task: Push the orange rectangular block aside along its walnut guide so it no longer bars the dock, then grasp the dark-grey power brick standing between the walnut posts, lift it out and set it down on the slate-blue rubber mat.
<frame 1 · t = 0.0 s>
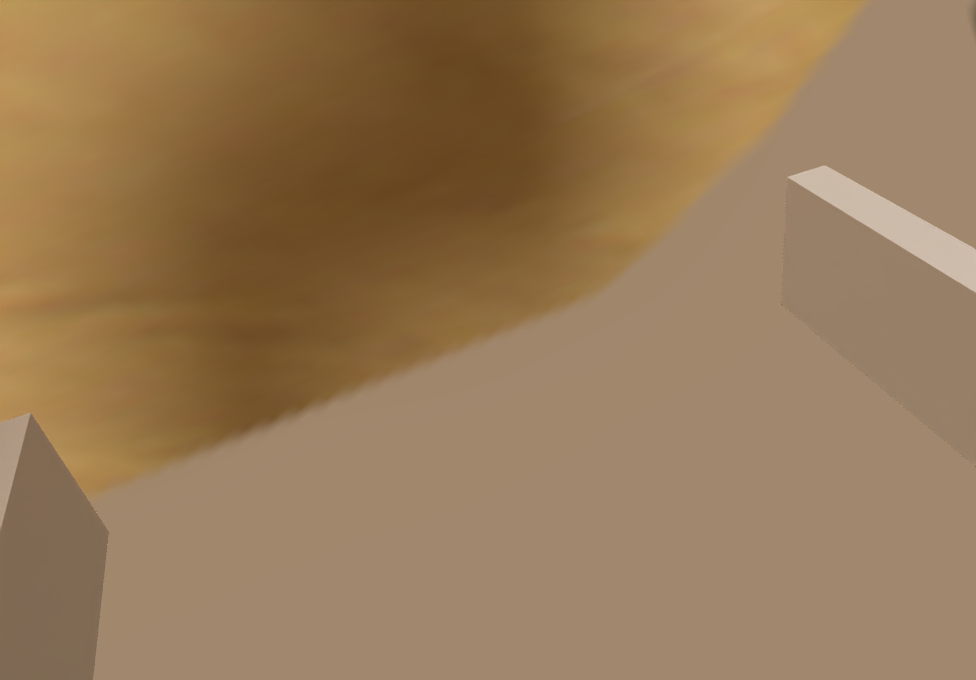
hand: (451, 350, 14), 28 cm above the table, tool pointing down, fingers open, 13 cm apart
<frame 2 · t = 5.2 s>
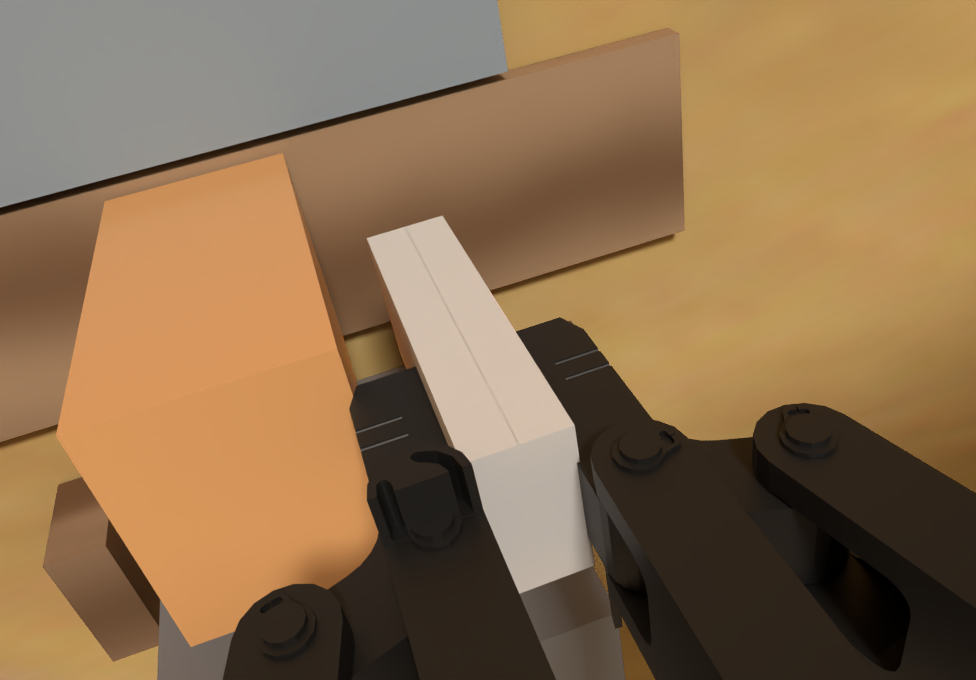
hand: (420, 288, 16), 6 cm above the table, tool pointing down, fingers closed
power brick: (344, 448, 25), on the table
orange rectangular block: (242, 366, 16), point 5 cm above the table, slide at 1.0 cm, touching gripper
cradle: (345, 449, 25), on the table
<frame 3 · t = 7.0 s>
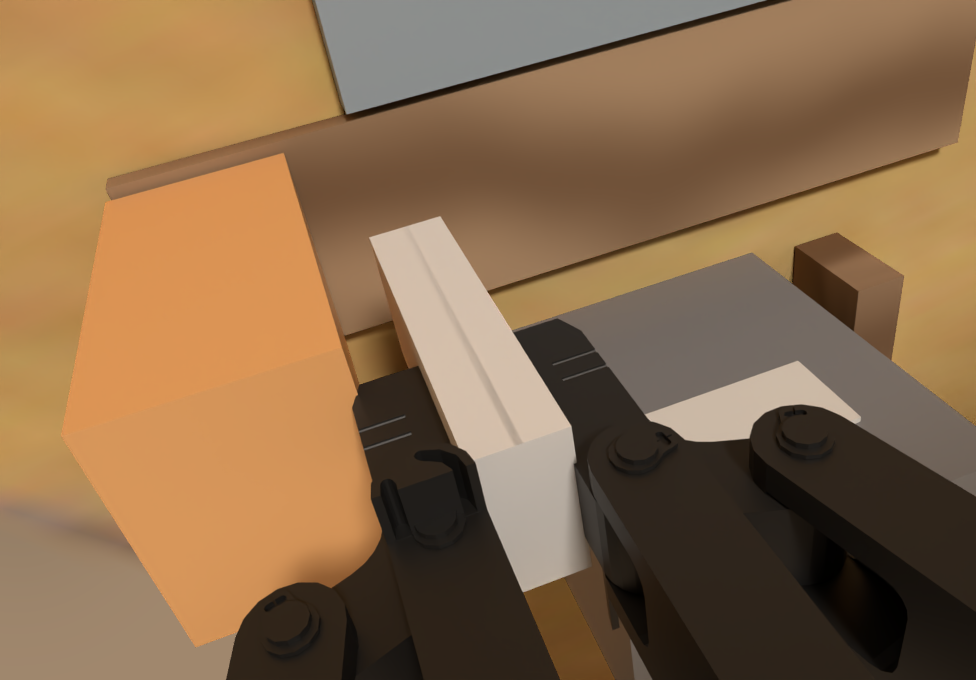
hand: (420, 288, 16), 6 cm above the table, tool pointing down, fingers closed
power brick: (623, 354, 26), on the table
orange rectangular block: (245, 366, 16), point 5 cm above the table, slide at 10.1 cm, touching gripper
cradle: (624, 355, 26), on the table
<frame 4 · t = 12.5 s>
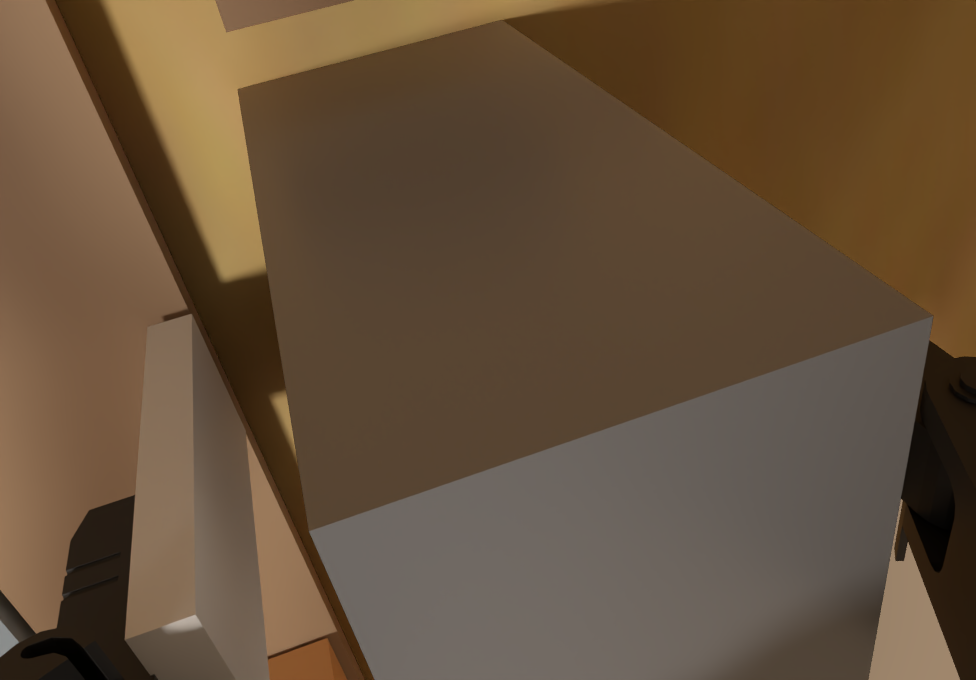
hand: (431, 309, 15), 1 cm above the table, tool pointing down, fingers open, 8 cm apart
power brick: (430, 283, 16), on the table
cradle: (430, 285, 16), on the table
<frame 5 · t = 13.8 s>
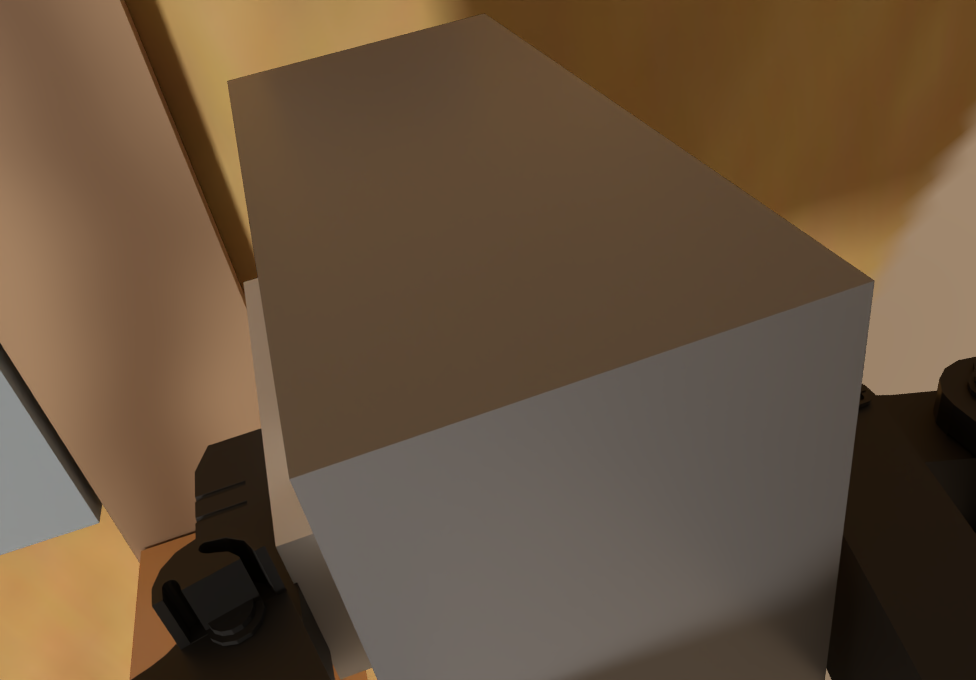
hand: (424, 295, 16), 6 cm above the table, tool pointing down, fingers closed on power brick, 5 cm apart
power brick: (417, 272, 16), point 5 cm above the table, touching gripper
cradle: (389, 194, 21), on the table
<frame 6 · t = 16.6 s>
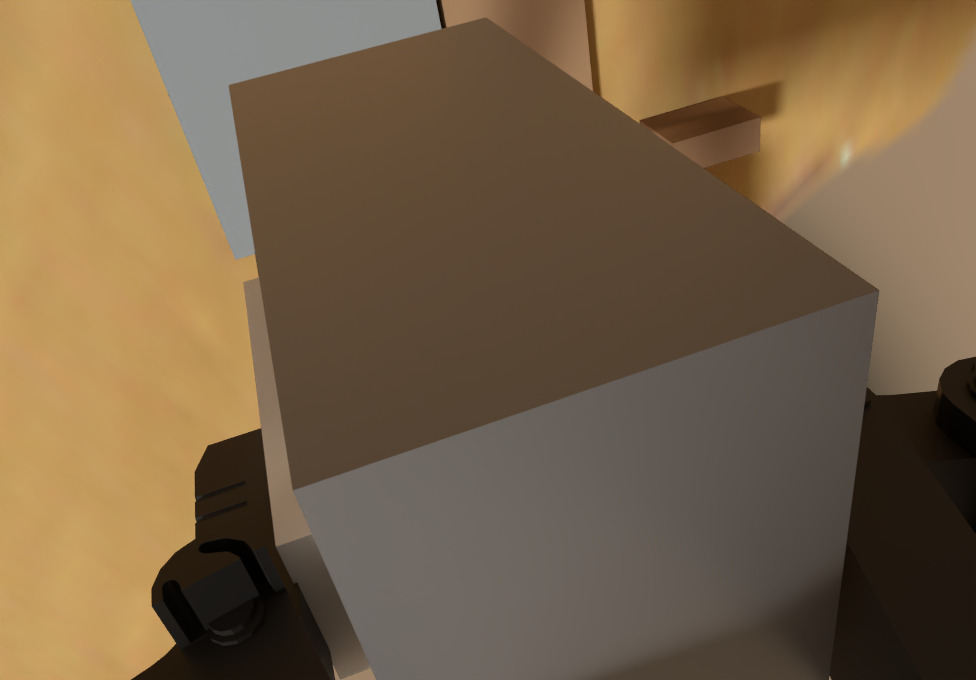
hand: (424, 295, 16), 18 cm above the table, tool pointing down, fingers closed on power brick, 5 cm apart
power brick: (418, 275, 16), point 17 cm above the table, touching gripper
mat: (307, 59, 30), on the table
when the fingers open (2 cm above the table, at t = 19.5 s): power brick stays where it is, resting on mat.
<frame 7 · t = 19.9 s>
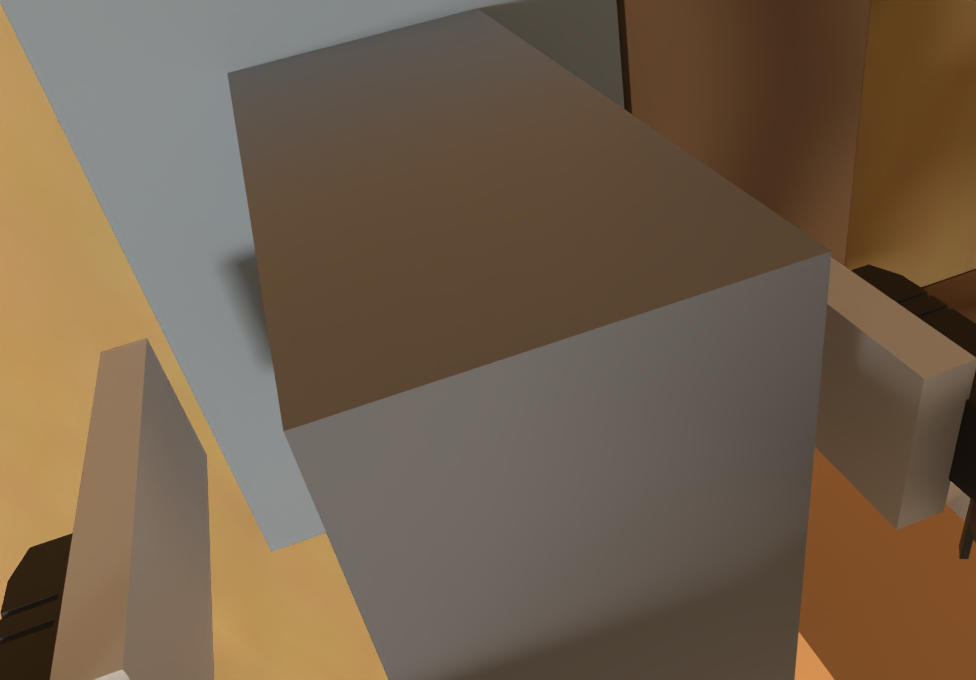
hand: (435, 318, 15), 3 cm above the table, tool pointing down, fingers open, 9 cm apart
power brick: (412, 261, 17), point 1 cm above the table, touching mat
orange rectangular block: (838, 583, 21), point 5 cm above the table, slide at 10.0 cm
mat: (400, 246, 18), on the table
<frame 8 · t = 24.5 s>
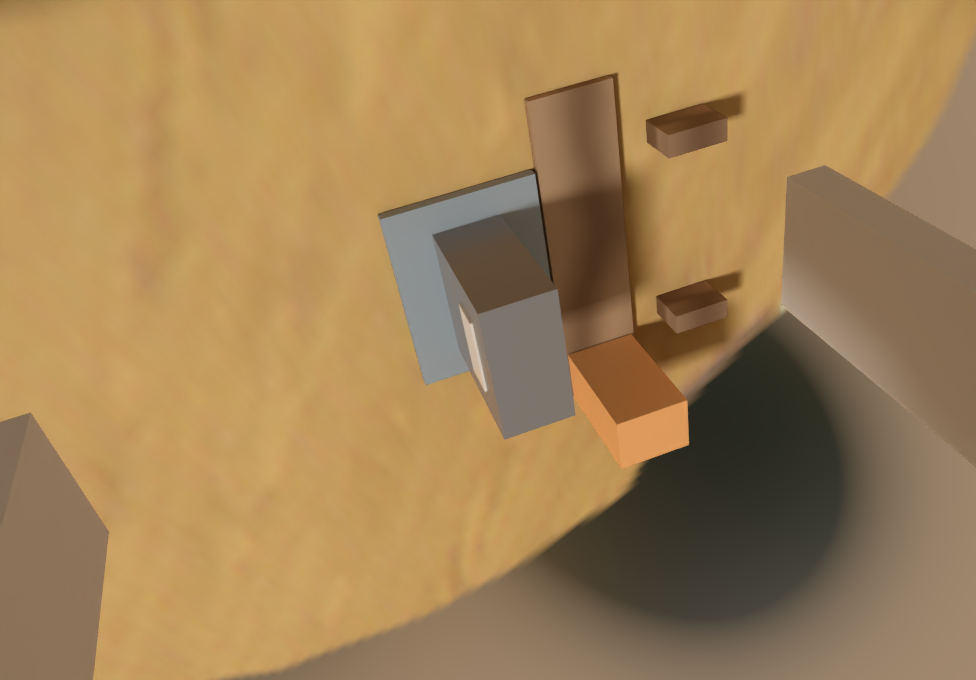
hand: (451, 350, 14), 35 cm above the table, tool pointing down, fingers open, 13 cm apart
power brick: (478, 284, 54), point 1 cm above the table, touching mat
orange rectangular block: (626, 398, 58), point 5 cm above the table, slide at 10.0 cm
mat: (473, 279, 55), on the table
cradle: (678, 215, 57), on the table
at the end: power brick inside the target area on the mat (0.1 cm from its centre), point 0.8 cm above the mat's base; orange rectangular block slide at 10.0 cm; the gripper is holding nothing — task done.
